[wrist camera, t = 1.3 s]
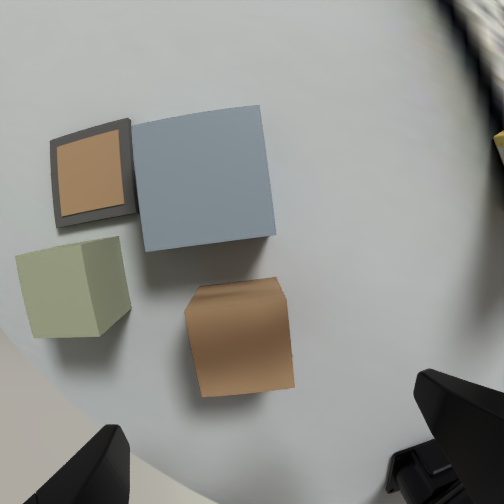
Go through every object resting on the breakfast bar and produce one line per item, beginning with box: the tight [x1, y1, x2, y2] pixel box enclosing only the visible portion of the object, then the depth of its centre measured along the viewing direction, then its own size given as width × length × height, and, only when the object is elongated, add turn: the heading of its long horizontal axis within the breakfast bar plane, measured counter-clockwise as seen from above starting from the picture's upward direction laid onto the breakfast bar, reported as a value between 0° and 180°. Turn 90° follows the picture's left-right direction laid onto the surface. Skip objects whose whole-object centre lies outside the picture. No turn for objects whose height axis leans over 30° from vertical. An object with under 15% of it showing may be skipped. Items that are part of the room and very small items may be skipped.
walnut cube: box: [184, 277, 295, 397], centre depth 18 cm, size 5×5×6 cm
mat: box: [50, 118, 139, 228], centre depth 19 cm, size 6×6×1 cm
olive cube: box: [15, 236, 132, 338], centre depth 18 cm, size 5×5×6 cm
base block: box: [132, 105, 276, 252], centre depth 18 cm, size 7×7×4 cm
